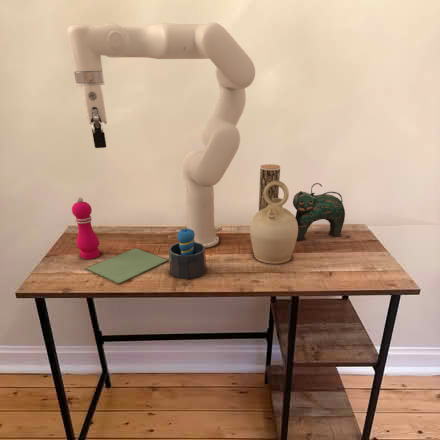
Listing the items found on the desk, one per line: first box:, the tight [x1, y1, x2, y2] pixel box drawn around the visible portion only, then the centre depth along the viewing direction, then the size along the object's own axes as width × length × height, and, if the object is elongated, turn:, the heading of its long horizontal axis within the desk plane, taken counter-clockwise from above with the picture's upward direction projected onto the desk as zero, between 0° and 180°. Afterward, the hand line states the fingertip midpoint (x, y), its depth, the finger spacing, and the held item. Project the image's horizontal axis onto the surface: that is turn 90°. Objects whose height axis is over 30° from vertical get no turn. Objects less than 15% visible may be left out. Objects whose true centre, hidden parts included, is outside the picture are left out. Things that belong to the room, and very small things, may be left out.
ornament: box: [177, 226, 195, 255], centre depth 122 cm, size 5×5×15 cm
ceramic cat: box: [292, 182, 346, 242], centre depth 144 cm, size 20×6×20 cm, turn 104°
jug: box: [249, 180, 298, 265], centre depth 128 cm, size 15×16×25 cm
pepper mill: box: [71, 196, 100, 260], centre depth 132 cm, size 7×7×20 cm
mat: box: [86, 247, 169, 285], centre depth 130 cm, size 20×16×1 cm
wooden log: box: [258, 163, 281, 212], centre depth 145 cm, size 7×7×25 cm
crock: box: [168, 242, 207, 280], centre depth 124 cm, size 11×11×8 cm
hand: (100, 144), depth 119 cm, fingers open, 9 cm apart
